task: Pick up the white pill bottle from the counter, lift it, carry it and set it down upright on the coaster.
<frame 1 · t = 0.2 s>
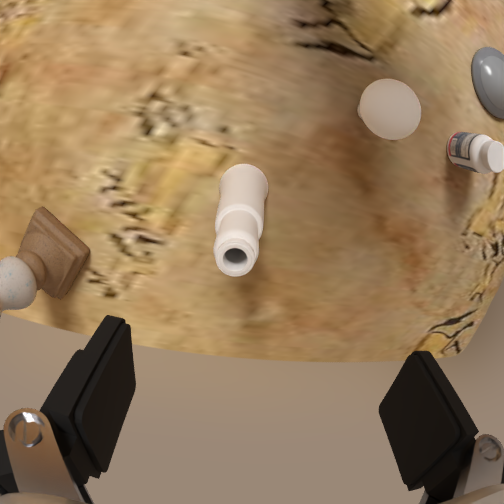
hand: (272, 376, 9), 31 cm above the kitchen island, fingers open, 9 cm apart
candle holder: (53, 251, 41), on the kitchen island
pill bottle: (458, 148, 35), on the kitchen island
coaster: (496, 82, 30), on the kitchen island
cosmetic bottle: (243, 187, 38), on the kitchen island
light bulb: (364, 111, 34), on the kitchen island
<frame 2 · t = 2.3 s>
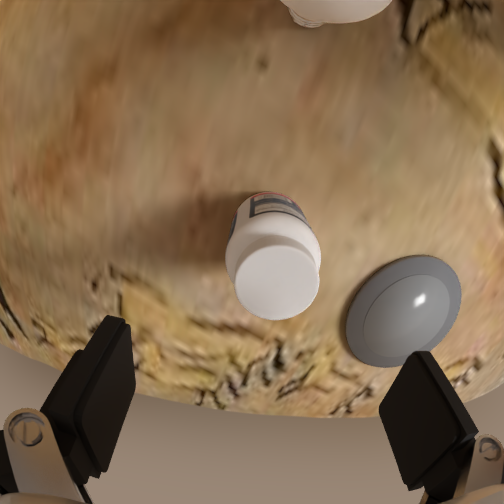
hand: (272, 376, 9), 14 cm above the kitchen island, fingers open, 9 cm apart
pill bottle: (269, 225, 23), on the kitchen island
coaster: (406, 315, 25), on the kitchen island
light bulb: (306, 14, 16), on the kitchen island
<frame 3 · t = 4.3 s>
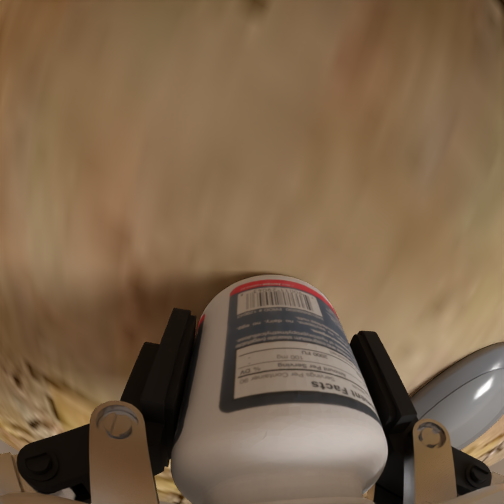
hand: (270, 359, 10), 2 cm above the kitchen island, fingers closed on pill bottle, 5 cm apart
pill bottle: (268, 329, 12), on the kitchen island, touching gripper
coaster: (458, 413, 15), on the kitchen island
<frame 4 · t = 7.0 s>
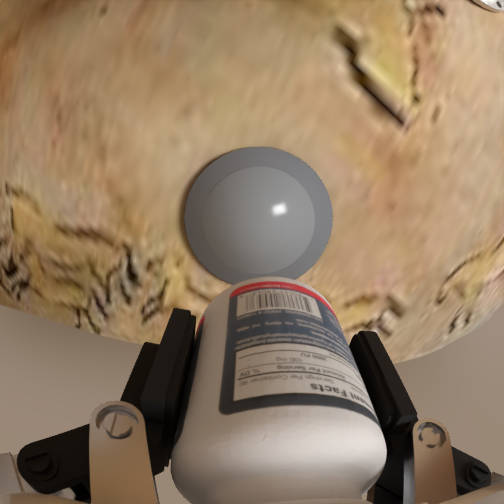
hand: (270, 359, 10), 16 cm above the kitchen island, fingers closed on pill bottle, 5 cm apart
pill bottle: (268, 331, 12), point 15 cm above the kitchen island, touching gripper
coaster: (258, 220, 25), on the kitchen island
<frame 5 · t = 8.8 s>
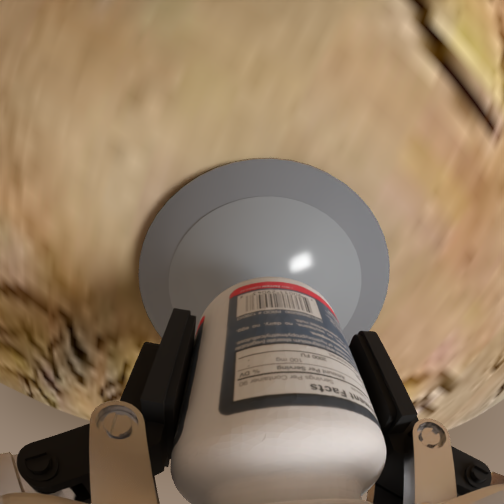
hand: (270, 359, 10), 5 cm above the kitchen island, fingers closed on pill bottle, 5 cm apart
pill bottle: (268, 331, 12), point 3 cm above the kitchen island, touching gripper
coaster: (265, 287, 15), on the kitchen island
when the fingers open (4 cm above the kitchen island, at t = 10.0 s): pill bottle drops 1 cm, resting on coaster.
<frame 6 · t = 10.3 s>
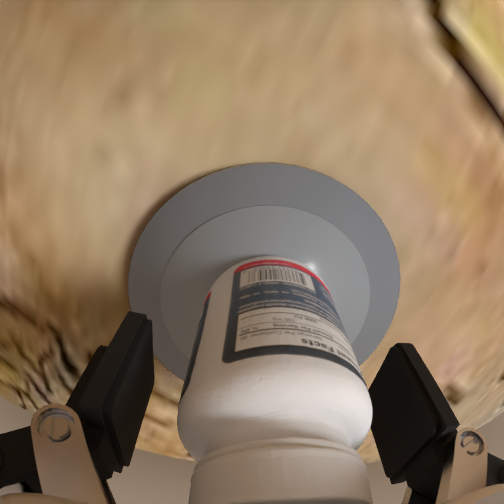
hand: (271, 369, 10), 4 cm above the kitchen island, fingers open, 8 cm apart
pill bottle: (268, 308, 13), point 1 cm above the kitchen island, touching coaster
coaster: (266, 303, 13), on the kitchen island
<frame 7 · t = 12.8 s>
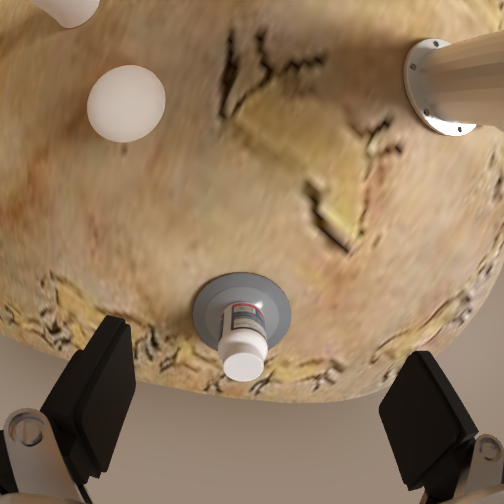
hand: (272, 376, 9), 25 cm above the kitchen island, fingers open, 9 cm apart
pill bottle: (242, 318, 37), point 1 cm above the kitchen island, touching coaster
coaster: (241, 316, 38), on the kitchen island
cosmetic bottle: (79, 7, 23), on the kitchen island
light bulb: (152, 110, 29), on the kitchen island
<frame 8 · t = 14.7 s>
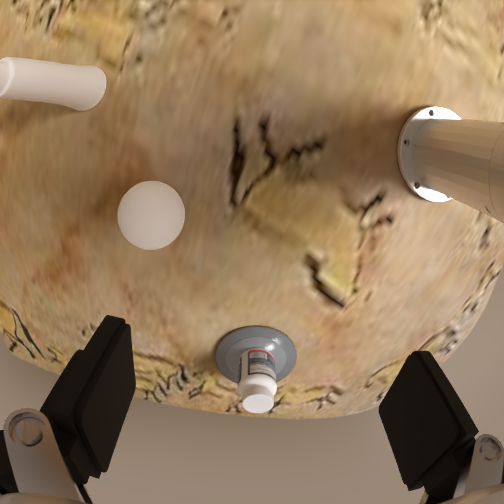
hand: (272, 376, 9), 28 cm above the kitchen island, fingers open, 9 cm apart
pill bottle: (256, 359, 44), point 1 cm above the kitchen island, touching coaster
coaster: (256, 357, 45), on the kitchen island
cosmetic bottle: (87, 88, 30), on the kitchen island
light bulb: (170, 197, 36), on the kitchen island
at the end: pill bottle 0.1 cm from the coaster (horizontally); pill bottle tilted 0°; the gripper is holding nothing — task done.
